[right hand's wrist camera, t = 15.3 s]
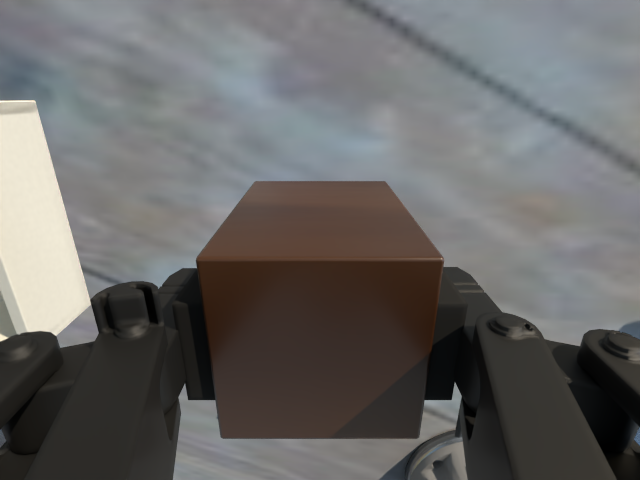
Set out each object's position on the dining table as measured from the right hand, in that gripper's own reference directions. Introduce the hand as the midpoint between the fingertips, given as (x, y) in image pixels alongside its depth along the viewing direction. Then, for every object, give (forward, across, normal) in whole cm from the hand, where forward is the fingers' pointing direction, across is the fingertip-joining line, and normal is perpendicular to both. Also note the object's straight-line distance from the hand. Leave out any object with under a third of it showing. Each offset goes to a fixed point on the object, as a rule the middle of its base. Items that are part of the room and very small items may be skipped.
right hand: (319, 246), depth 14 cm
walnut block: (0, 0, 0) cm, 0 cm away
